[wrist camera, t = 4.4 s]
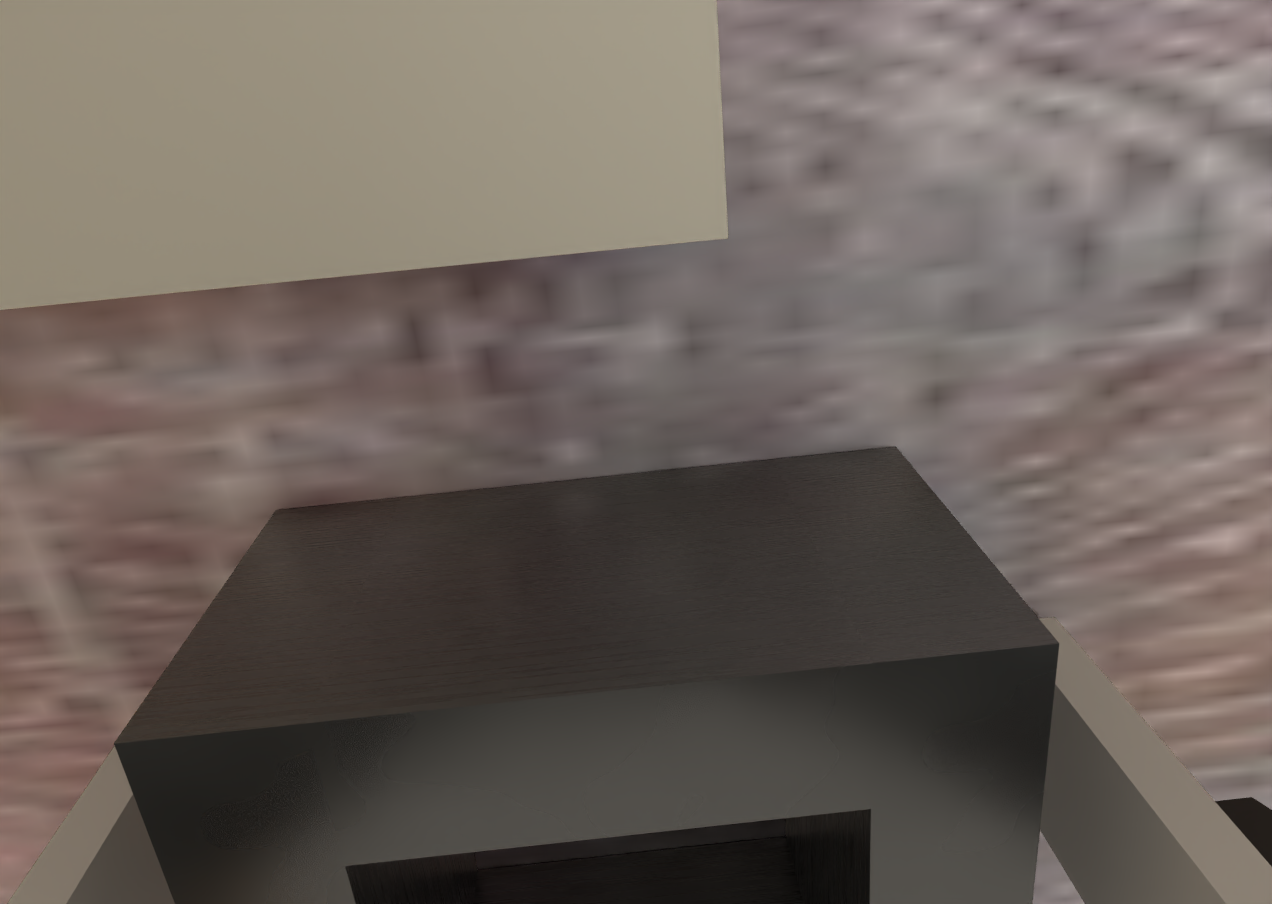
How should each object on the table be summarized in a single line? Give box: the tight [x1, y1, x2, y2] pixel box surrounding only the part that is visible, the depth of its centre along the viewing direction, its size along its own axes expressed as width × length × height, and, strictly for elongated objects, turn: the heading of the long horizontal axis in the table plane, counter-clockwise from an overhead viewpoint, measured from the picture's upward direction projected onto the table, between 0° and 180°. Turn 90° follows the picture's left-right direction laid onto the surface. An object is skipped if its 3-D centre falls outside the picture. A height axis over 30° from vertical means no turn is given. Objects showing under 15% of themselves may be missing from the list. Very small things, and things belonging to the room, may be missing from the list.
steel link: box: [114, 447, 1059, 904], centre depth 13 cm, size 9×9×5 cm
